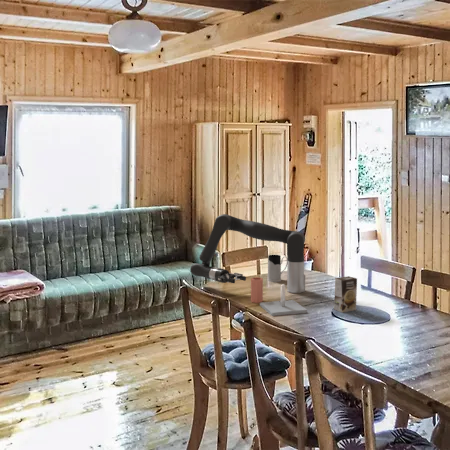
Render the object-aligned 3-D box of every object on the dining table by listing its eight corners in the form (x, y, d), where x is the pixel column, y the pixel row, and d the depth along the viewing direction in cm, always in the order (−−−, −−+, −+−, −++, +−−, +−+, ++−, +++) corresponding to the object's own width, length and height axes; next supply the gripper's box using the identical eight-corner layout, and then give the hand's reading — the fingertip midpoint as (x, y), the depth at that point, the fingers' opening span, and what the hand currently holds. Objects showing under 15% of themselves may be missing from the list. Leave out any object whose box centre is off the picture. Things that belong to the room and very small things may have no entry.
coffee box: (342, 313, 265) (342, 280, 263) (333, 309, 271) (334, 277, 268) (356, 310, 269) (357, 278, 267) (348, 307, 275) (348, 275, 273)
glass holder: (264, 279, 333) (264, 255, 331) (283, 276, 340) (283, 253, 338) (272, 282, 325) (272, 257, 323) (291, 279, 332) (291, 255, 330)
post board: (292, 302, 283) (293, 278, 281) (306, 312, 266) (307, 287, 264) (259, 305, 278) (259, 281, 277) (271, 315, 261) (272, 290, 259)
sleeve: (260, 299, 290) (260, 277, 288) (264, 302, 284) (264, 279, 283) (249, 300, 288) (249, 277, 287) (253, 303, 283) (253, 280, 281)
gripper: (209, 270, 299) (230, 275, 288) (228, 266, 309) (249, 271, 298) (209, 283, 300) (230, 289, 289) (228, 279, 310) (249, 284, 299)
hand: (240, 280), depth 293 cm, fingers open, 8 cm apart
